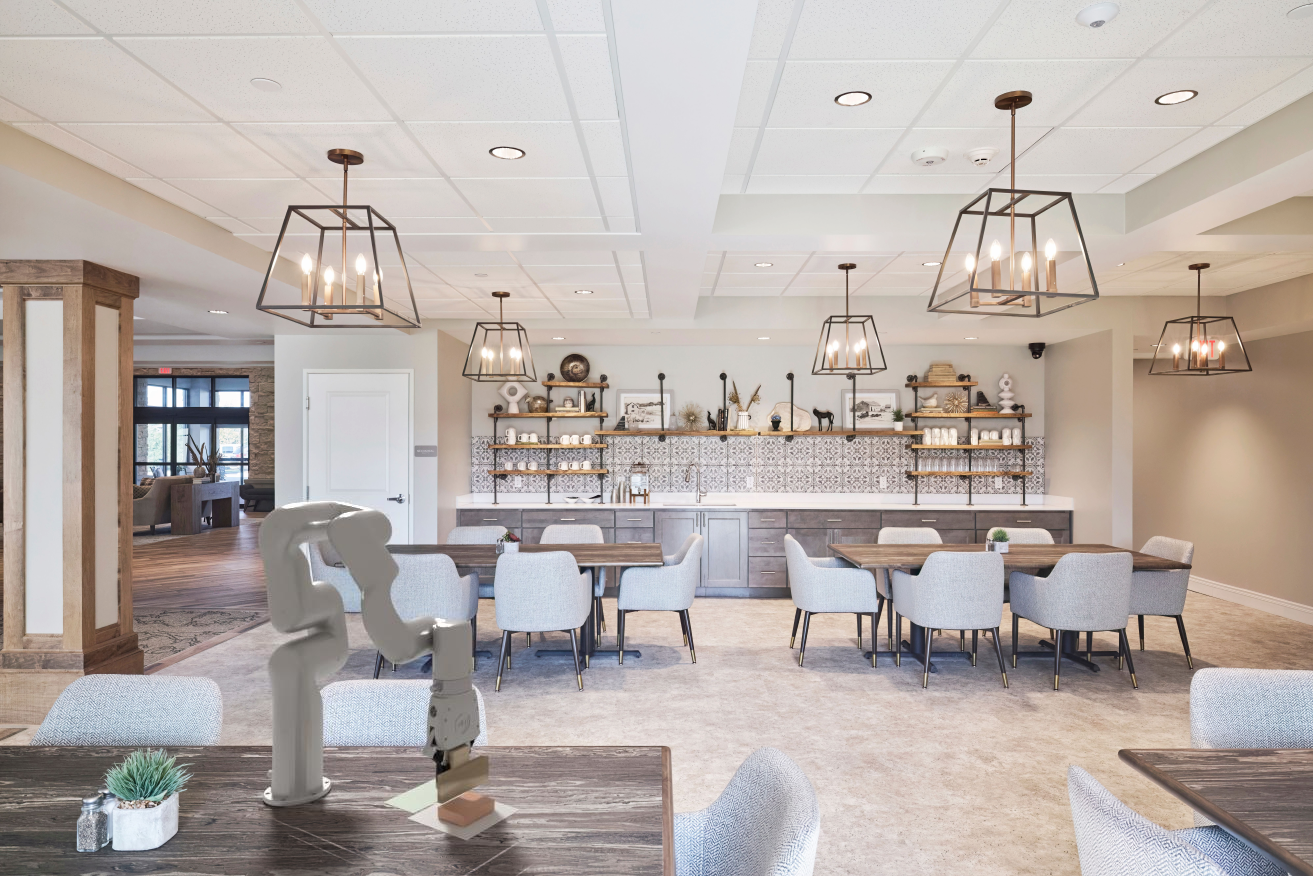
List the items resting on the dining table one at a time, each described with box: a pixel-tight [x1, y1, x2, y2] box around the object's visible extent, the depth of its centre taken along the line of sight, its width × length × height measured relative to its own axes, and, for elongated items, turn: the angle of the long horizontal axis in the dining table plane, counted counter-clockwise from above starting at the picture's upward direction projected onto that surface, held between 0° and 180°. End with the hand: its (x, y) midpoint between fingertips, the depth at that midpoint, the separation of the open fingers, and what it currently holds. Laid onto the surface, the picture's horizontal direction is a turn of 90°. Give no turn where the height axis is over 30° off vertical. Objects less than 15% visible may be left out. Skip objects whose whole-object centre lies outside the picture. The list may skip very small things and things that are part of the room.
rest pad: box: [383, 778, 438, 815], centre depth 154 cm, size 9×16×1 cm, turn 148°
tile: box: [438, 790, 496, 827], centre depth 145 cm, size 2×8×7 cm
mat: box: [406, 791, 521, 841], centre depth 145 cm, size 16×14×1 cm
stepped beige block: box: [436, 744, 490, 804], centre depth 147 cm, size 6×12×8 cm, turn 148°
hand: (452, 778), depth 147 cm, fingers closed on stepped beige block, 4 cm apart
